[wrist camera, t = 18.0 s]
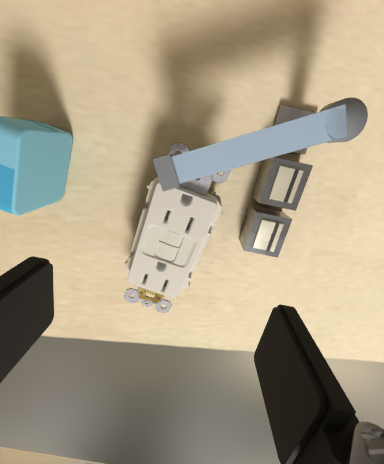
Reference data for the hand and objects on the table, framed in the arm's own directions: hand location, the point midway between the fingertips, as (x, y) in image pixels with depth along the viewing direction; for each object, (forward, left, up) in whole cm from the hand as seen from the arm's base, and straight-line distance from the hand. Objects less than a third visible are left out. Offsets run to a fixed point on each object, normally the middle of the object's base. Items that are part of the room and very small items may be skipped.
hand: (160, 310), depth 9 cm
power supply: (-4, +14, -32) cm, 35 cm away
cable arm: (-8, +6, -20) cm, 23 cm away
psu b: (+4, +14, -32) cm, 35 cm away
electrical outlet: (+8, -1, -33) cm, 34 cm away
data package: (+1, -24, -33) cm, 40 cm away
